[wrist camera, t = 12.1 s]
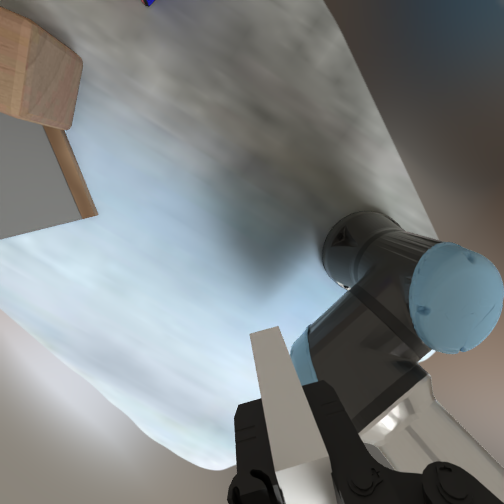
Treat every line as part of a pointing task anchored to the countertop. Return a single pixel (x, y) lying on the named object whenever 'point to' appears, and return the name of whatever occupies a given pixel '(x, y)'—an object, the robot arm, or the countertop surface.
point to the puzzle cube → (147, 2)
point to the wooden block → (36, 73)
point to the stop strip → (71, 171)
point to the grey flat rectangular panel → (31, 180)
